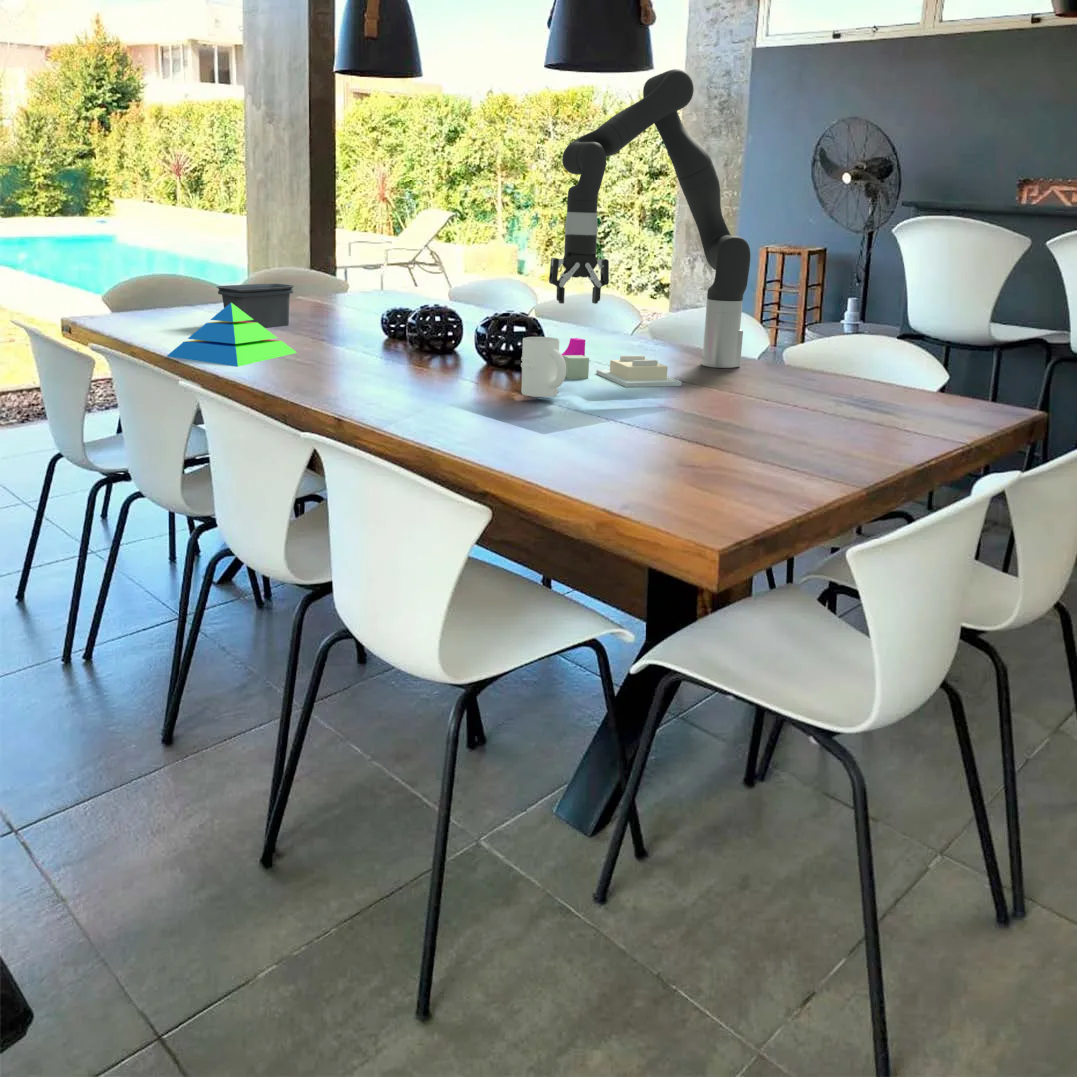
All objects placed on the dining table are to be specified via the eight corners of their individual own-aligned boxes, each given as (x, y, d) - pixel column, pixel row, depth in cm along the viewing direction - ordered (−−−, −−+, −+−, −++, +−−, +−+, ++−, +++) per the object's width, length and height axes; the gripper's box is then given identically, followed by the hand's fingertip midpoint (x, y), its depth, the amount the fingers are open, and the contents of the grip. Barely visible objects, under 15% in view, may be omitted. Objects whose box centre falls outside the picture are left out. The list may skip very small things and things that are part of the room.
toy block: (542, 373, 258) (543, 343, 255) (528, 370, 262) (528, 340, 260) (589, 370, 266) (591, 340, 264) (575, 367, 271) (576, 338, 268)
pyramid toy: (162, 359, 265) (158, 302, 261) (231, 349, 286) (228, 296, 282) (238, 368, 255) (234, 308, 250) (303, 357, 276) (301, 302, 272)
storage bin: (239, 338, 304) (236, 288, 299) (211, 333, 314) (208, 284, 309) (300, 333, 319) (298, 286, 314) (271, 328, 329) (269, 282, 324)
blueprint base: (648, 372, 263) (649, 352, 261) (681, 385, 245) (682, 363, 243) (596, 373, 259) (597, 352, 257) (626, 387, 241) (627, 364, 239)
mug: (549, 401, 220) (551, 344, 217) (513, 392, 229) (514, 338, 225) (577, 397, 226) (579, 341, 222) (540, 389, 234) (542, 335, 230)
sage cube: (581, 375, 256) (582, 355, 255) (588, 378, 252) (589, 358, 250) (562, 375, 255) (562, 355, 253) (568, 379, 250) (569, 358, 249)
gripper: (603, 233, 248) (600, 302, 253) (547, 231, 244) (545, 301, 249) (615, 234, 242) (611, 305, 247) (557, 232, 238) (554, 304, 242)
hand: (578, 303), depth 248 cm, fingers open, 8 cm apart
